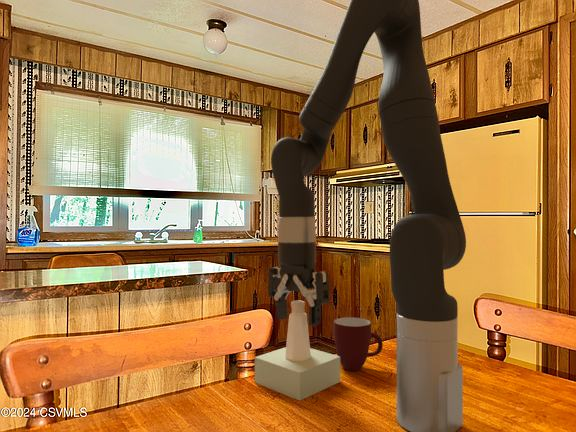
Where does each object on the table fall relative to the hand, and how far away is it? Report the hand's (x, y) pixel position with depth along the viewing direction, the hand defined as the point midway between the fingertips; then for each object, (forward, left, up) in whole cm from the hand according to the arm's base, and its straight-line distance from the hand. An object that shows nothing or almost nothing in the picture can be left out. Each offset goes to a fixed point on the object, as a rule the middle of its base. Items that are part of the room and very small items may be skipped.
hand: (297, 322), depth 84 cm
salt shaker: (0, 0, -7) cm, 7 cm away
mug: (-4, -15, -12) cm, 20 cm away
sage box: (0, 0, -12) cm, 12 cm away
